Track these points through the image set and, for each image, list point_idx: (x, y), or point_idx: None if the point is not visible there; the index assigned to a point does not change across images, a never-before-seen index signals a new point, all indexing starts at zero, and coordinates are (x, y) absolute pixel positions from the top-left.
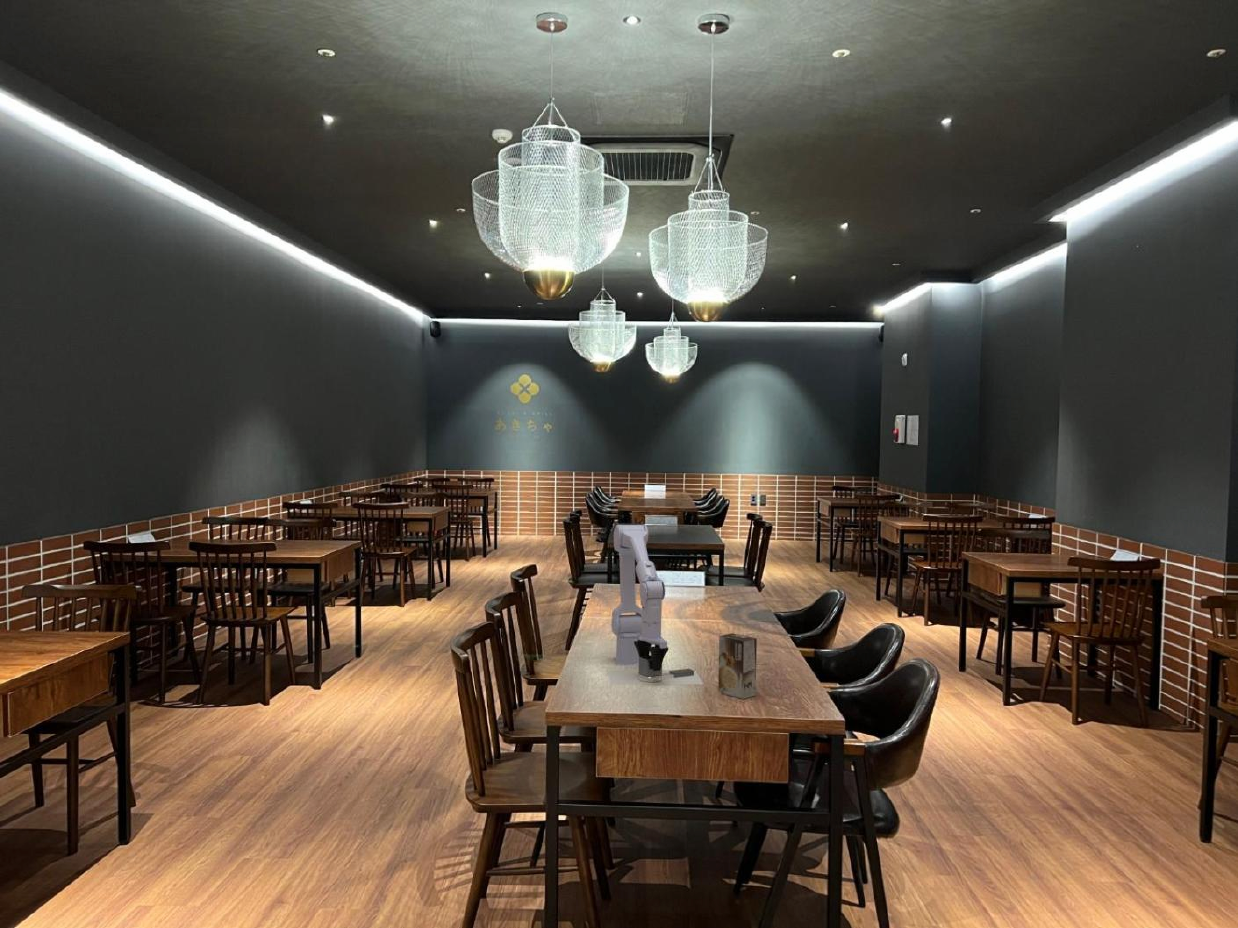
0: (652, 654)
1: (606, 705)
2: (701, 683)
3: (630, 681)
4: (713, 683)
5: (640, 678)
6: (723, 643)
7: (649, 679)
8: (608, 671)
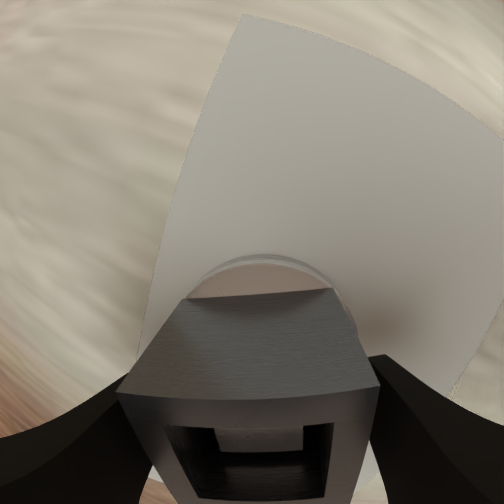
0: (17, 447)
1: (4, 5)
2: None
3: (261, 173)
4: (160, 492)
5: (246, 260)
6: None
7: None
8: None
